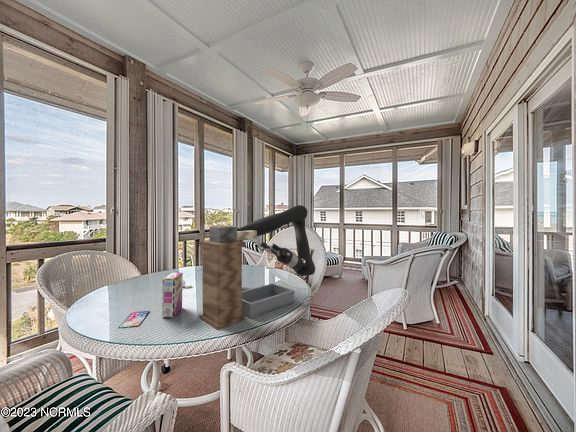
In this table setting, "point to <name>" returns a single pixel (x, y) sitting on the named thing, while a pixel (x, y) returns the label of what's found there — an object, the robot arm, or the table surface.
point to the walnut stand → (222, 283)
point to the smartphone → (134, 319)
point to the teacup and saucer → (185, 285)
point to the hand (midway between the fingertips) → (266, 244)
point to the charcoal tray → (265, 299)
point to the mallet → (229, 234)
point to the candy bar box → (172, 295)
